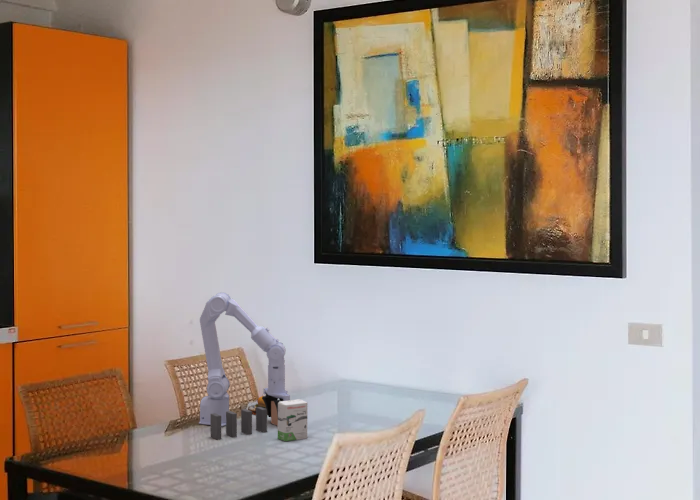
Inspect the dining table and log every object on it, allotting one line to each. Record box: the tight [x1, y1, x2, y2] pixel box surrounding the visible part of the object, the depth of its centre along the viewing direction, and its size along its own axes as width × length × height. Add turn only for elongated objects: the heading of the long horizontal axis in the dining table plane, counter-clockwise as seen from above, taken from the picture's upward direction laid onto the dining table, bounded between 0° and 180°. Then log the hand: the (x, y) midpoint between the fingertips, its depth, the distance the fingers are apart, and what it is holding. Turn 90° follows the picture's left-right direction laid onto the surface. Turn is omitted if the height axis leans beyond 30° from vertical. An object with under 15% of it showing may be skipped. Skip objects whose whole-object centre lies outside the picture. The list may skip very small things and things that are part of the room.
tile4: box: [225, 410, 238, 438], centre depth 302 cm, size 2×4×8 cm, turn 35°
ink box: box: [277, 398, 309, 442], centre depth 299 cm, size 9×5×12 cm, turn 123°
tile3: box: [240, 408, 253, 436], centre depth 305 cm, size 2×4×8 cm, turn 34°
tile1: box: [270, 401, 278, 427], centre depth 317 cm, size 2×4×8 cm, turn 35°
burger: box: [247, 394, 268, 416], centre depth 336 cm, size 12×12×8 cm
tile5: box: [210, 413, 222, 441], centre depth 299 cm, size 2×4×8 cm, turn 34°
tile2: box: [255, 407, 268, 434], centre depth 308 cm, size 2×4×8 cm, turn 35°
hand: (276, 418), depth 317 cm, fingers open, 6 cm apart
